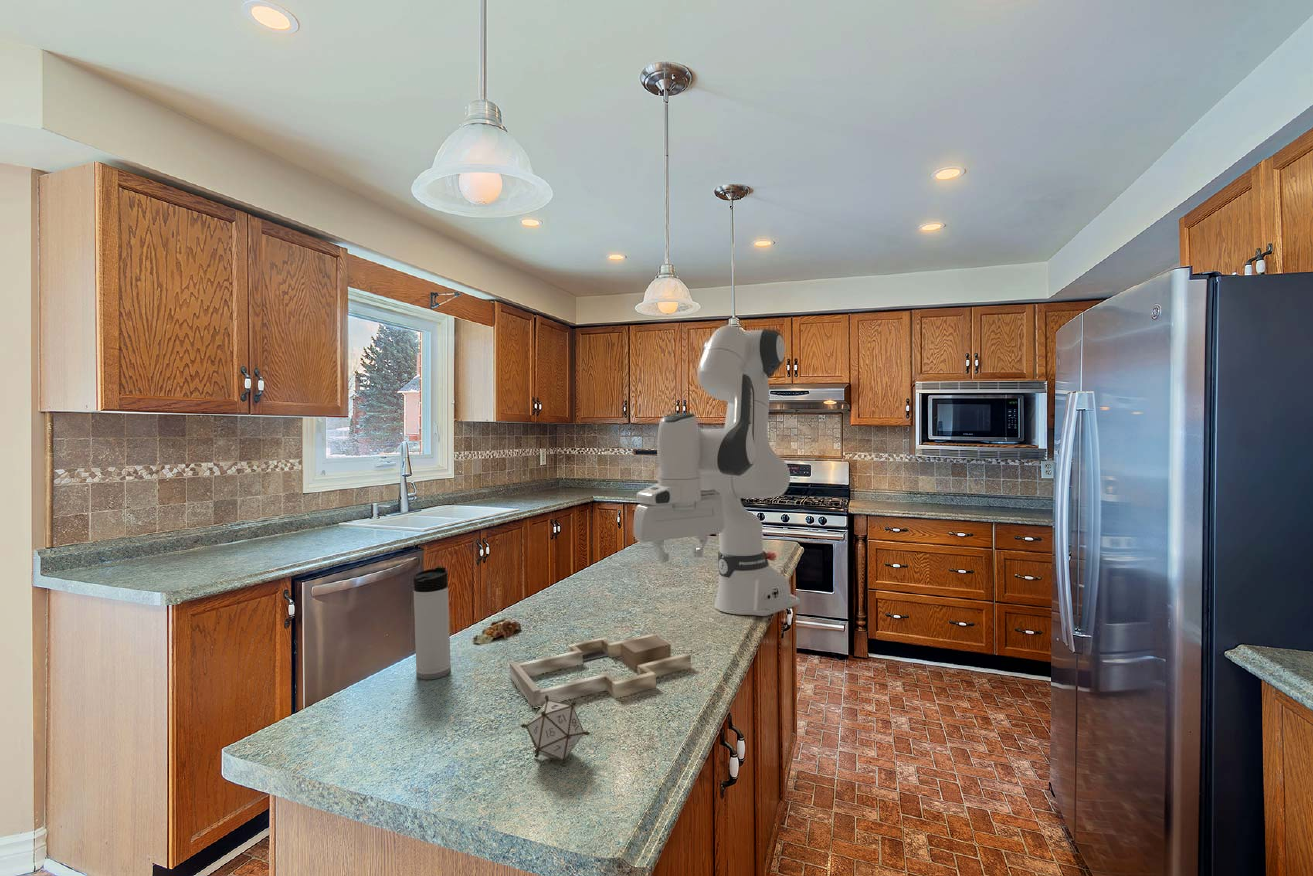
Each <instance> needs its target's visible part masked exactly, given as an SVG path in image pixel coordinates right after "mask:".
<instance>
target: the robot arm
mask: <svg viewBox="0 0 1313 876" xmlns="http://www.w3.org/2000/svg"><path fill="white" fill-rule="evenodd" d="M785 355H786V344H785V341H784V337H783V336H782V334H781V333H780V331H778V330H776V329H772V328H764V329H750V330H742V329H741V328H739V327H737V326H734V325H723V326H721V327H718V328H717V329H716V330H715V331H714V332H713V333H712V335H711V336H710V338H709V337H708V339H707V340H705V342H704V344H703V346H702V349H701V357H700V359H699V362H698V366H697V370H696V371H697V373H696V377H697V380H698V384H699V386H700V388H701V389H702V391H703V392H705V394H707V395H709V396H710V397H712V398H713V399H716V400H719V401H723V402H727V405H726V406H727V407H726V413H725V422H724V428H700V427H699V423H698V419H697V415H695V414H694V413H690V412H677V413H671V414H666V415H664V416H663V417H661V418H660V420H659V424H658V429H657V430H658V431H657V439H656V440H657V441H656V442H657V444H656V445H657V447H656V449H657V451H656V453H657V454H656V455H657V461H658V466H659V471H658V474H657V483H655V484H653V485H651V486H649V487H646V488H645V489H642V490H639V491H638V492H636V495H635V499H636V502H637V503H638V505H637V506H635V509H634V513H633V524H632V525H633V528H632V529H633V530H632V531H633V532H632V533H633V538H634V539H635V540H636V541H637V542H641V543H651V542H652V546H653V547H654V550H655V551H656V552H657V554H658V555H657V556H658V557H657V558H658V562H659V563H668V562H669V561H670V558H669V557H670V554H669V553H668V552H666V551H664V548H663V547H664V545H665V541H669V540H676V539H685V538H691V537H696V539H697V543H696V546H695V547H692V552H693V553H692V556H693V557H694V558H702V557H704V548H705V547H706V544H707V542H708V539H709V538H708V537H709V536H710V535H716V534H718V543H719V547H718V548H719V550H718V552H717V568H718V573H719V575H718V576H719V577H718V587H717V593H716V599H715V603H714V608H715V609H716V610H718V611H721V612H723V613H727V614H731V615H732V614H733V615H743V616H744V615H746V616H747V615H749V616H758V617H760V616H761V617H767V616H770V615H772V614H776V613H779V612H781V611H784V610H788V609H790V608H792V607H796V606H799V605H801V600H800V598H799V597H798V596H795V595H794V594H792V593H791V585H790V582H789V580H788V579H787V577H785V576H784V575H782V573H780V572H779V571H778V570H776V569H775V568H773V566H771V565H770V564H769V563H770V562H769V561H774V562H775V561H776V560H777V554H776V553H775V552H771V551H768V552H765V551H764V546H763V545H764V543H763V541H764V538H763V537H764V536H763V523H762V522H761V520H760V518H759V517H758V516H757V514H754V513H753V512H751V511H748V510H747V509H746V507H744V505H743V504H742V501H741V499H760V500H761V499H762V500H765V499H769V498H775V497H780V496H782V495H784V494H785V492H786V491H787V490H788V488H789V485H790V482H791V473H790V468H789V466H788V464H787V463H786V461H785V460H784V459H783V458H782V457H781V456H779V455H778V454H777V453H776V452H775V451H774V449H773V448H772V446H771V444H770V442H769V438H768V423H769V422H768V421H769V411H770V400H771V399H770V384H769V378H771V377H773V376H774V375H775V373H776V371H778V370H779V368H780V367H781V366H782V364H783V363H784V359H785ZM708 535H709V536H708Z"/></svg>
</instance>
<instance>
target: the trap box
mask: <svg viewBox="0 0 1313 876" xmlns="http://www.w3.org/2000/svg"><path fill="white" fill-rule="evenodd" d="M655 635H656V636H657V637H658V635H657V634H656V633H651V634H646V635H641V636H637V637H636V636H635V637H632V638H631V637H630V638H628V639H623V640H617V641H614V642H611V641H610V640H609V639H608V638H606V637H605V636H603V637H598V638H592V639H589V640H584V641H579V642H575V643H574V642H573V643H570V644H568V645H567V651H568V652H564V653H560V654H556V655H551V656H547V657H541V658H537V659H534V660H528V661H523V662H520V663H518V662H517V661H511V662H509V680H510V681H511V680H512V681H511V682H512V683H513V682H514V683H513V684H514V686H515V685H516V686H517V687H516V686H515V687H516V688H517V690H518V689H519V690H520V691H519V690H518V691H519V692H520V694H521V695H522V694H523V695H524V696H525V697H524V696H523V695H522V696H523V697H524V698H526V699H527V700H528V701H527V700H526V699H525V700H526V701H527V702H528V703H530V704H531V705H532V706H533V708H535V707H538V706H543V705H544V703H545V702H546V700H545V695H547V696H548V700H550V701H554V702H559V701H563V700H567V701H569V700H568V699H571V700H575V699H578V698H577V697H579V698H582V697H581V696H583V697H585V696H590V695H593V694H597V693H601V692H604V691H606V692H607V693H608V694H610V696H612V698H613V699H615V700H617V699H621V698H624V697H623V696H625V697H628V696H632V695H635V694H634V693H636V694H639V693H643V692H645V691H646V692H647V691H650V690H653V689H657V678H658V677H661V676H662V677H663V676H664V675H669V674H673V673H677V672H679V671H685V670H688V669H691V668H692V661H691V660H692V659H691V658H692V657H691V656H692V655H691V654H690V653H688V652H686V653H682V654H678V655H677V654H676V655H674V656H671V657H669V658H665V659H661V660H657V661H653V662H649V663H645V664H641V665H637V672H636V674H637V675H634V676H630V677H626V678H623V679H619V680H617V679H616V678H615V677H613V676H612V675H611V674H610V673H609V672H606V673H601V674H598V675H593V676H589V677H585V678H581V679H577V680H573V681H569V682H565V683H562V684H557V685H554V686H550V687H545V688H541V689H540V688H539V686H538V685H537V684H536V683H535V682H534V681H533V680H532V678H531V677H535V676H538V675H542V673H544V674H547V673H546V672H548V673H552V672H556V671H560V670H559V669H561V670H565V669H569V668H572V667H577V665H578V666H582V665H583V663H585V662H590V661H594V660H598V659H599V660H600V659H603V658H606V657H609V658H610V659H611V658H616V657H621V643H624V642H628V641H633V640H637V639H642V638H646V637H651V636H655ZM530 676H531V677H530ZM649 689H650V690H649ZM642 691H643V692H642ZM631 694H632V695H631ZM620 697H621V698H620ZM574 698H575V699H574ZM616 698H617V699H616ZM530 704H529V705H530ZM531 705H530V706H531ZM532 706H531V707H532ZM533 708H532V709H533Z"/></svg>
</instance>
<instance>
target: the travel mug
mask: <svg viewBox="0 0 1313 876" xmlns="http://www.w3.org/2000/svg"><path fill="white" fill-rule="evenodd" d="M448 583H449V582H448V570H447V569H446V566H445V567H444V566H437V567H435V568H432V569H431V568H430V569H426V570H425V569H424V570H422V571H420V572H417V573H416V574H415V575H414V576H413V609H414V610H413V611H414V614H413V615H414V636H415V637H414V640H415V642H414V643H415V667H416V668H415V669H416V670H415V671H416V674H415V675H416V677H417V678H418V679H419V680H424V681H425V680H426V681H427V680H428V681H429V680H430V681H431V680H436V679H440V678H443V677H446V676H447V675H449V673H451V670H452V669H451V668H452V664H451V662H452V661H451V636H450V633H451V632H450V609H449V608H450V606H449V605H450V604H449V603H450V600H449V584H448Z"/></svg>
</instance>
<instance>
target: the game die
mask: <svg viewBox="0 0 1313 876" xmlns="http://www.w3.org/2000/svg"><path fill="white" fill-rule="evenodd" d="M545 700H546V702H545V703H544V705H543V706H542V707H541V708H538V709H539V710H538V711H537V712H536V713H535V714H534V716H533V717H532V718H531V719H530V720H529V722H527V724H525V723H523V724H520V727H521V728H522V729H525V728H526V730H527V732H528V735H529V737H530V739H531V742H532V743H533V746H534V748H535V749H534V758H535V757H538V758H539V756H543V757H546V758H547V757H548V758H551V759H555V760H559V761H562V765H563V764H566V763H567V761H566V759H567V758H568V756H569V754H570V753H571V752H572V751H573V750H574V748H575V747H576V745H577V744H578V743H579V741H580V740H581V738H582V737H583V736H584V735H585V736H588V735H591V733H590V732H589V731H585V730H584V728H583V726H582V723H581V722H580V719H579V717H578V714H577V711H576V709H575V706H576V704H577V700H574V701H572V703H571V704H568V703H564V702H560V703H559V702H554V701H550V700H548V696H547V695H545ZM566 765H567V764H566Z"/></svg>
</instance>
